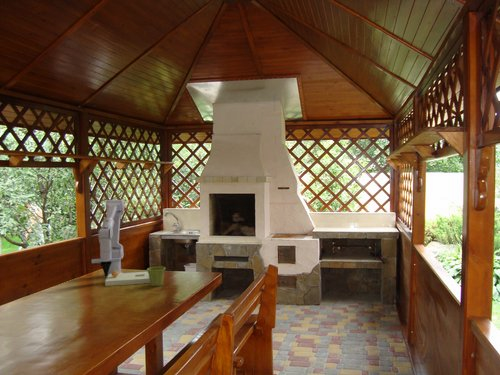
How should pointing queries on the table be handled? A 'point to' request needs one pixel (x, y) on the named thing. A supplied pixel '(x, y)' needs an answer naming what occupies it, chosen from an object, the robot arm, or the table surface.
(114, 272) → the ball
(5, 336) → the table surface
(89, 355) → the table surface
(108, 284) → the deck
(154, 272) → the plant pot
